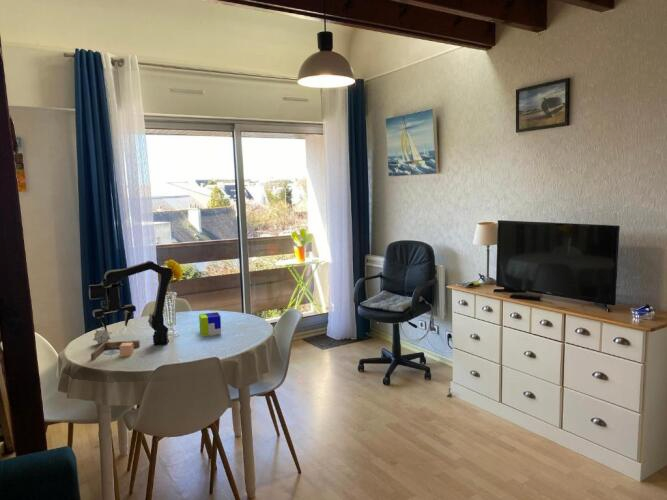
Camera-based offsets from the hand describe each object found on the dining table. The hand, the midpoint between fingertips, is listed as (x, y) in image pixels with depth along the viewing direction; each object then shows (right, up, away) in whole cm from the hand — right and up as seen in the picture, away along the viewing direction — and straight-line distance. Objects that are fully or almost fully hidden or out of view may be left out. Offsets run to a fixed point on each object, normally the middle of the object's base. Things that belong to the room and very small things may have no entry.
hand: (115, 327), depth 243 cm
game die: (-13, -10, +13) cm, 21 cm away
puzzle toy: (+39, -8, +30) cm, 50 cm away
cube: (+7, -12, -4) cm, 15 cm away
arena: (+1, -12, -2) cm, 12 cm away
